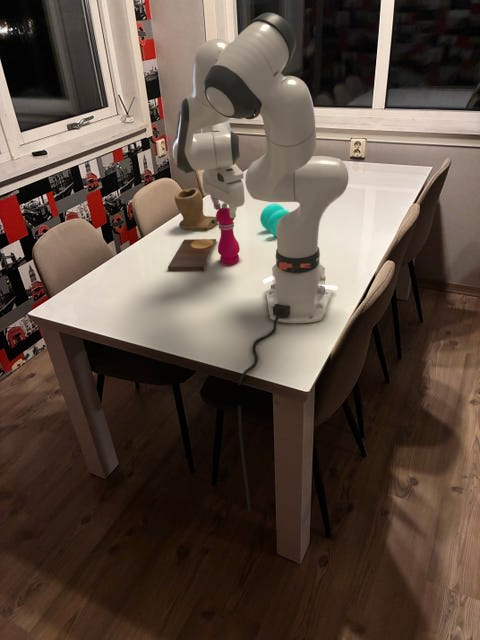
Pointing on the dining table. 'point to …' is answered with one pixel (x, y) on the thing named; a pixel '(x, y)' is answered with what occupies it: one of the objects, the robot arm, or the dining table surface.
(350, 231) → the dining table surface
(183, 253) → the serving board
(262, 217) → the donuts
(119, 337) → the dining table surface
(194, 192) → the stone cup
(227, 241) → the pepper mill
